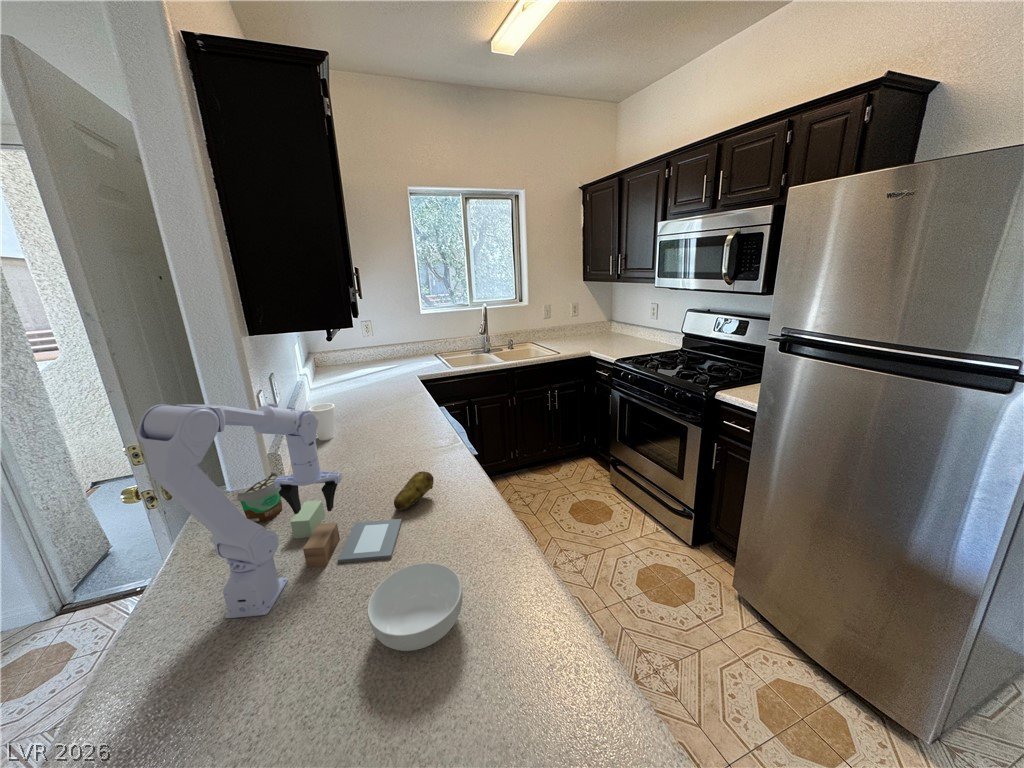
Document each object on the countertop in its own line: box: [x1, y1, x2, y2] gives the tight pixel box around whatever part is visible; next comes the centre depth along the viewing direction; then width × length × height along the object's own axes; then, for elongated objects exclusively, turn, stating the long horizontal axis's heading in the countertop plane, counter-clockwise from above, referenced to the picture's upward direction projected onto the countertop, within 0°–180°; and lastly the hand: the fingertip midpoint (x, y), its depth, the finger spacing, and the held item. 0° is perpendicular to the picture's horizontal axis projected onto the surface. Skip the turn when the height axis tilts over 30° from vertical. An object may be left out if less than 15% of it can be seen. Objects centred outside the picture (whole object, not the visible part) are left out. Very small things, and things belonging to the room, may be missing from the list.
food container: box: [236, 471, 283, 524], centre depth 109 cm, size 12×6×10 cm, turn 168°
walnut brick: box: [302, 522, 341, 568], centre depth 94 cm, size 9×4×5 cm, turn 5°
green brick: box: [289, 499, 326, 539], centre depth 104 cm, size 9×4×5 cm, turn 5°
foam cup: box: [308, 402, 336, 441], centre depth 160 cm, size 10×9×13 cm
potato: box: [393, 471, 435, 511], centre depth 113 cm, size 8×13×8 cm, turn 126°
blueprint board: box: [337, 518, 403, 563], centre depth 98 cm, size 14×12×1 cm
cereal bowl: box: [367, 562, 463, 652], centre depth 73 cm, size 17×17×7 cm
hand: (314, 510), depth 96 cm, fingers open, 7 cm apart
